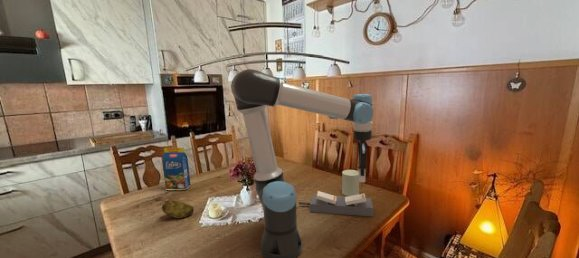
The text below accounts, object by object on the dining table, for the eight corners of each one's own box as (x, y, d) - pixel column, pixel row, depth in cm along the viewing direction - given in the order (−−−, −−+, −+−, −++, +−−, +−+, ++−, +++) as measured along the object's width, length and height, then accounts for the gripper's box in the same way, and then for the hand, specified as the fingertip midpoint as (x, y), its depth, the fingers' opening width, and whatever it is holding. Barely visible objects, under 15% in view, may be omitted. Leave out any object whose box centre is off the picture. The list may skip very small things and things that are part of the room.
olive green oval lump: (186, 222, 110) (184, 205, 109) (160, 220, 113) (157, 204, 111) (196, 212, 119) (194, 197, 117) (171, 211, 121) (169, 195, 119)
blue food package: (171, 186, 151) (166, 146, 146) (190, 186, 150) (186, 146, 145) (165, 191, 145) (160, 149, 140) (185, 191, 144) (181, 149, 139)
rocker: (316, 198, 114) (317, 195, 114) (317, 193, 119) (318, 190, 119) (335, 204, 113) (336, 201, 113) (335, 199, 118) (336, 196, 118)
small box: (346, 205, 112) (345, 201, 112) (345, 200, 117) (345, 196, 117) (366, 201, 110) (365, 198, 110) (365, 196, 115) (364, 193, 115)
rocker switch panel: (297, 211, 117) (297, 200, 116) (300, 201, 126) (300, 191, 126) (373, 216, 110) (373, 205, 109) (370, 205, 120) (370, 195, 119)
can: (359, 197, 129) (360, 175, 127) (341, 196, 131) (341, 174, 129) (358, 189, 138) (359, 169, 136) (341, 188, 140) (341, 168, 138)
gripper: (373, 133, 100) (372, 187, 105) (369, 127, 113) (368, 176, 117) (354, 133, 102) (354, 187, 106) (352, 127, 114) (352, 176, 119)
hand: (361, 181), depth 112 cm, fingers closed
